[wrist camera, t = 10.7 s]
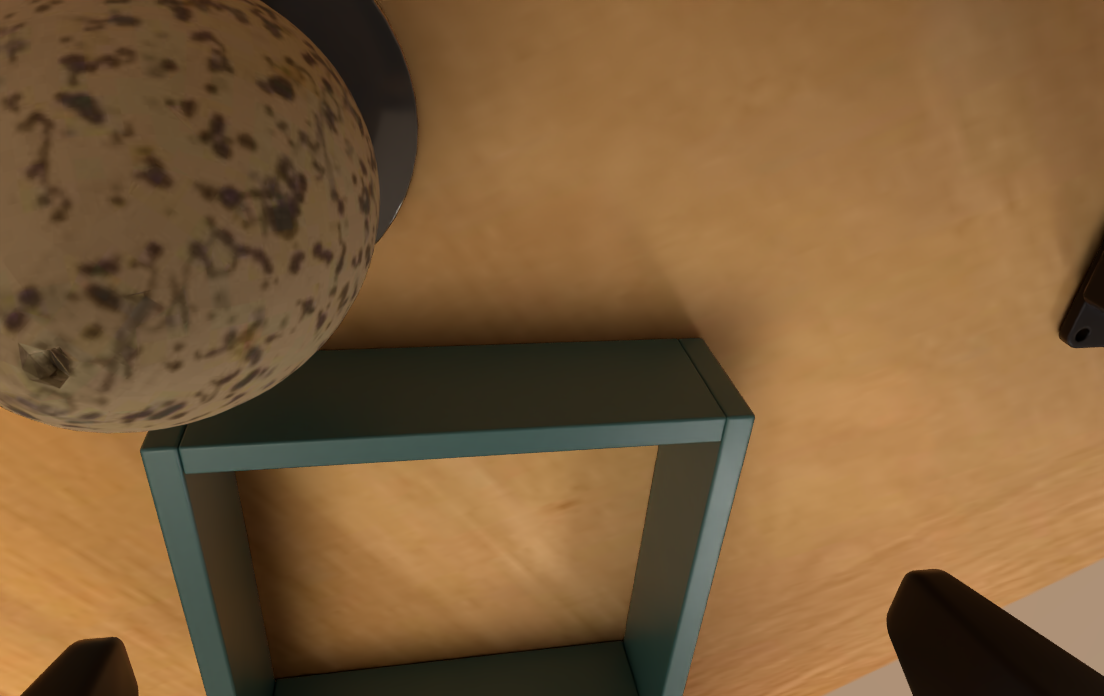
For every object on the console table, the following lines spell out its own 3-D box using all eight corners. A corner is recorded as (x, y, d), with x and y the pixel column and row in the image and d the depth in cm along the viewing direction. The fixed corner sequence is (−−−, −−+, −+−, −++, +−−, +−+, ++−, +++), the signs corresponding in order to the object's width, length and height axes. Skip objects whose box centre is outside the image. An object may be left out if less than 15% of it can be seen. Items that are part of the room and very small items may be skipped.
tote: (702, 336, 23) (756, 415, 19) (639, 650, 30) (670, 746, 27) (180, 353, 20) (137, 450, 16) (254, 694, 27) (235, 808, 24)
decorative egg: (425, 31, 16) (460, 188, 8) (334, 305, 19) (291, 624, 11) (54, -127, 14) (-451, -138, 6) (14, 216, 17) (-350, 543, 9)
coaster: (413, -99, 15) (413, -98, 15) (421, 291, 20) (422, 298, 20) (-87, -137, 14) (-99, -138, 13) (49, 299, 18) (42, 306, 18)
